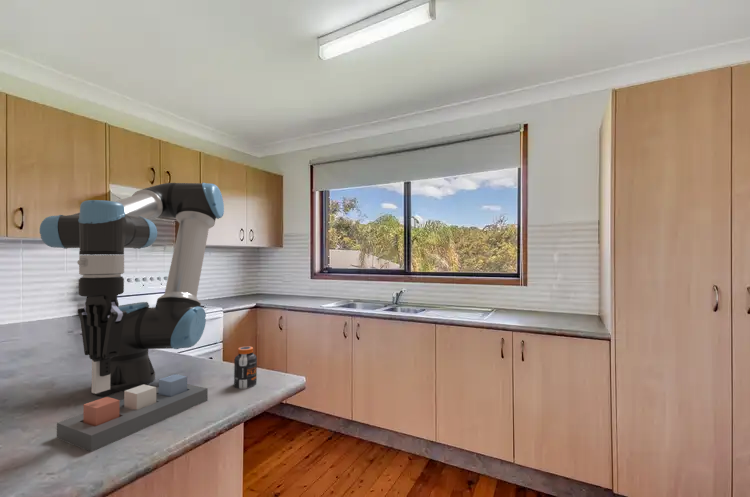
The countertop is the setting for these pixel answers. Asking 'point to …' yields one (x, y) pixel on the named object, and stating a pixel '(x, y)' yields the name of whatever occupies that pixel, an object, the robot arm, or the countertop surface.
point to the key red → (100, 411)
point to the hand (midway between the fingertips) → (101, 390)
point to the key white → (139, 397)
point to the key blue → (172, 385)
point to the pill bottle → (245, 368)
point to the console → (128, 419)
